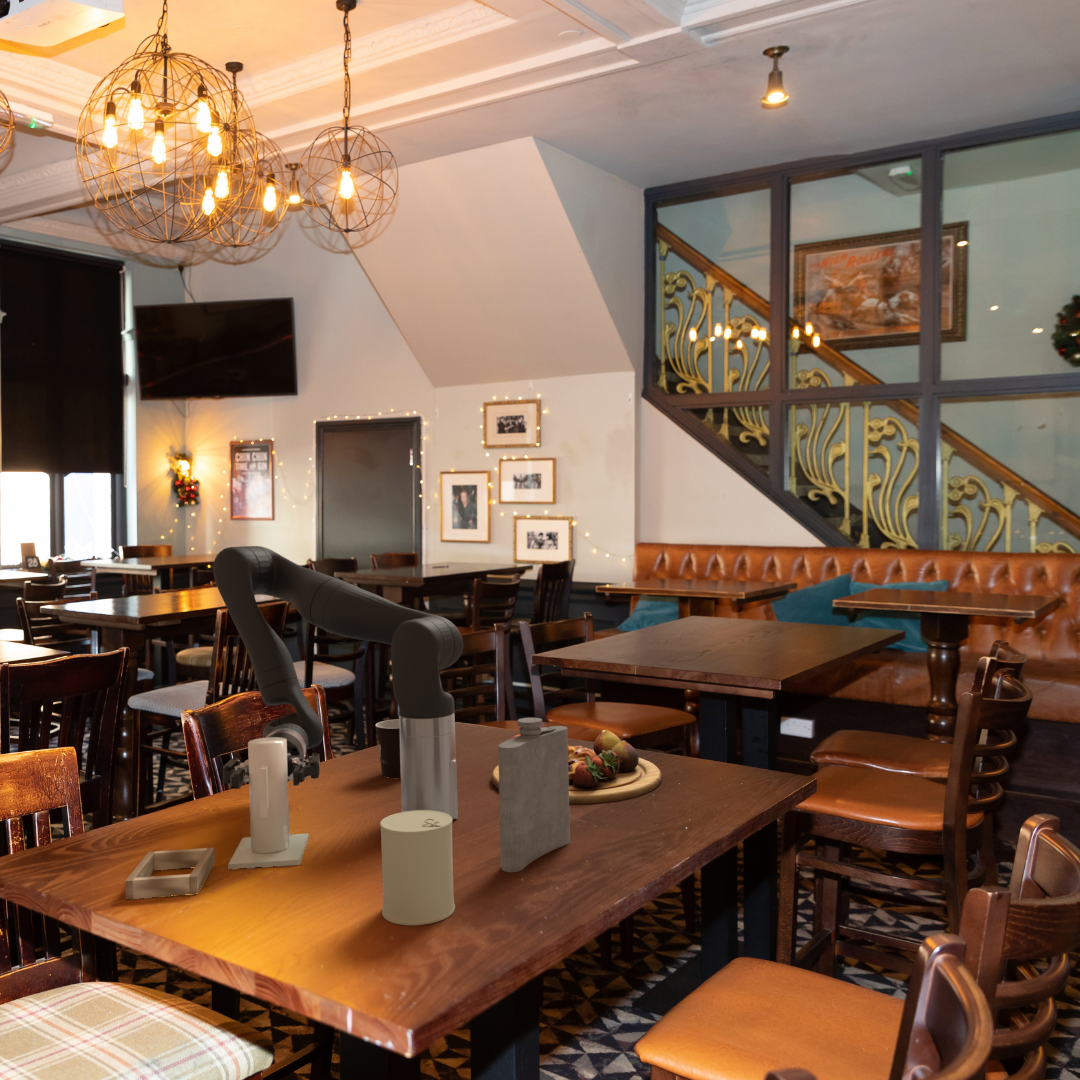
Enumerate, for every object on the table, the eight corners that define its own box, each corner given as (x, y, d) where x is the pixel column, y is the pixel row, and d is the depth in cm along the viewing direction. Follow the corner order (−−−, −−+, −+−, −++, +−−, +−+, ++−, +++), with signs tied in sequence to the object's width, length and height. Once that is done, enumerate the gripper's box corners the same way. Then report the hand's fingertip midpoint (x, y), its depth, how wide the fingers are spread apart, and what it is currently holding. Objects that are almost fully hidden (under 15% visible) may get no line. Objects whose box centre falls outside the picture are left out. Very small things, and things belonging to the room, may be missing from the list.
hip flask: (515, 873, 136) (511, 730, 136) (491, 868, 138) (488, 728, 138) (573, 840, 150) (570, 710, 149) (551, 836, 152) (548, 708, 151)
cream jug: (291, 840, 150) (288, 736, 150) (284, 857, 142) (281, 747, 142) (254, 842, 150) (251, 738, 150) (245, 859, 142) (242, 749, 142)
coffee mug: (412, 781, 186) (411, 728, 186) (370, 779, 188) (368, 727, 188) (431, 765, 198) (430, 716, 198) (391, 764, 200) (389, 715, 199)
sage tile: (308, 838, 154) (308, 833, 154) (299, 865, 142) (299, 859, 142) (243, 842, 152) (242, 837, 152) (228, 869, 140) (228, 864, 140)
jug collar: (214, 864, 143) (214, 847, 143) (197, 894, 131) (196, 876, 131) (149, 868, 141) (148, 851, 141) (125, 899, 130) (125, 881, 130)
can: (424, 931, 118) (421, 832, 117) (366, 916, 123) (364, 821, 122) (469, 905, 125) (467, 812, 125) (413, 892, 130) (411, 802, 130)
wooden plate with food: (457, 782, 186) (456, 739, 186) (578, 751, 207) (577, 712, 207) (573, 822, 162) (572, 772, 162) (696, 782, 184) (696, 738, 183)
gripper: (235, 734, 160) (215, 757, 144) (324, 730, 162) (314, 752, 146) (237, 780, 160) (217, 808, 144) (325, 775, 162) (316, 802, 146)
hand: (266, 780), depth 145 cm, fingers open, 8 cm apart
